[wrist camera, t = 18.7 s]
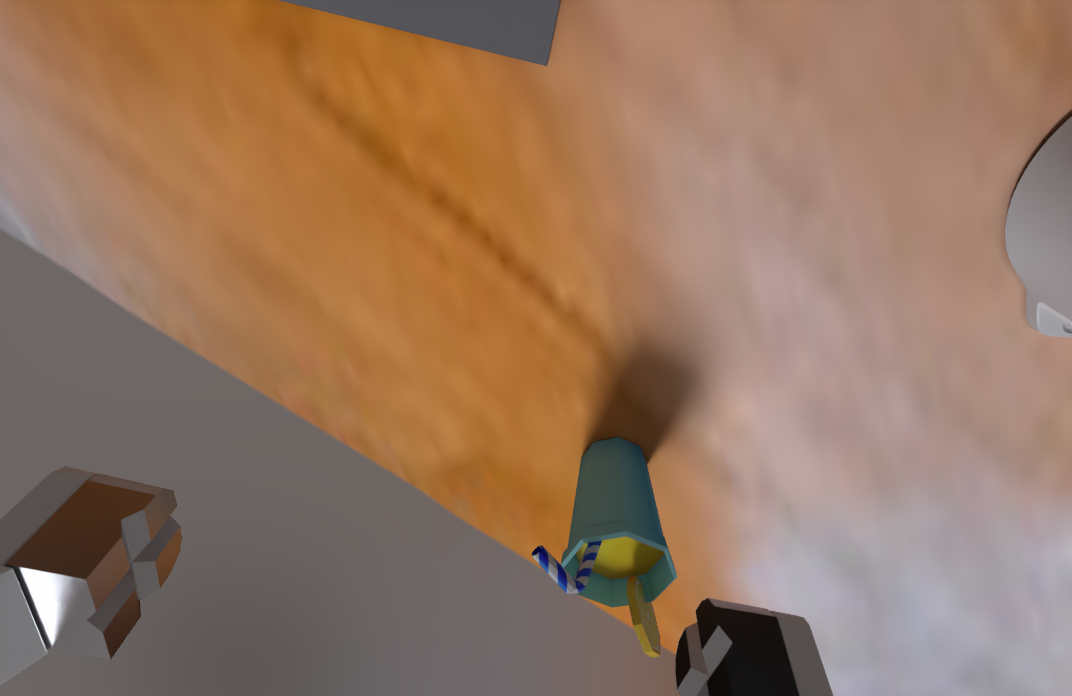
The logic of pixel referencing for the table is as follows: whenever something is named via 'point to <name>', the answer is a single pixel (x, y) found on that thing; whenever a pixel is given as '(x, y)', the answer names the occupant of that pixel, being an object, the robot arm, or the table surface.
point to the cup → (615, 538)
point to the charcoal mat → (461, 22)
